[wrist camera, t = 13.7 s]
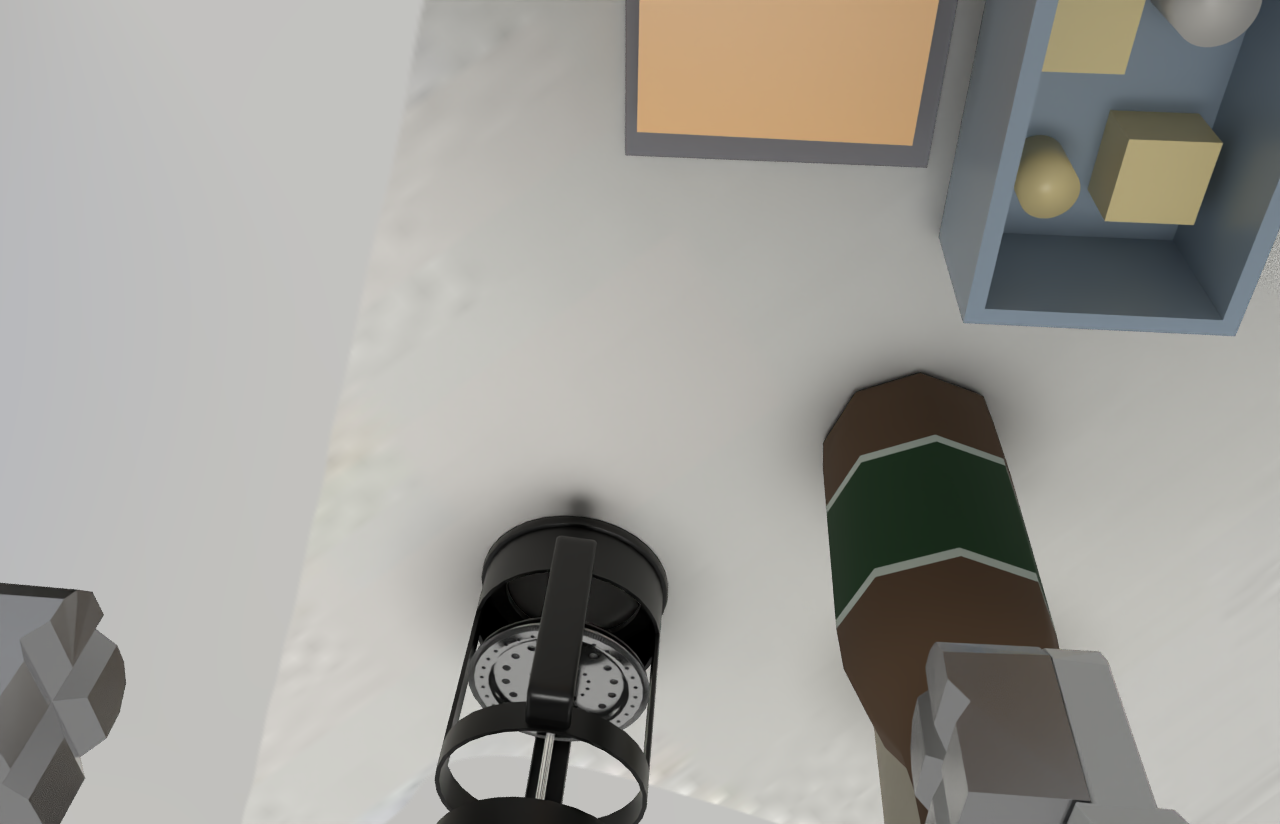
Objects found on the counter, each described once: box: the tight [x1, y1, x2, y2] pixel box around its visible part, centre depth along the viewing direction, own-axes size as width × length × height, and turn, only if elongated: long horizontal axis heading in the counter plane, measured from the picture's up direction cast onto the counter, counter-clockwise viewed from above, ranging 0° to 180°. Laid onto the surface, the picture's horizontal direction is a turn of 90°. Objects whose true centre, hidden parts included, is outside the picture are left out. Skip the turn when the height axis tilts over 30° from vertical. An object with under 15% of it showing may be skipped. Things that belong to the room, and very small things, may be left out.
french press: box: [435, 516, 668, 824], centre depth 46 cm, size 12×9×23 cm
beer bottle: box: [823, 373, 1059, 824], centre depth 39 cm, size 8×8×24 cm
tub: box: [939, 0, 1280, 336], centre depth 35 cm, size 9×14×6 cm, turn 179°
